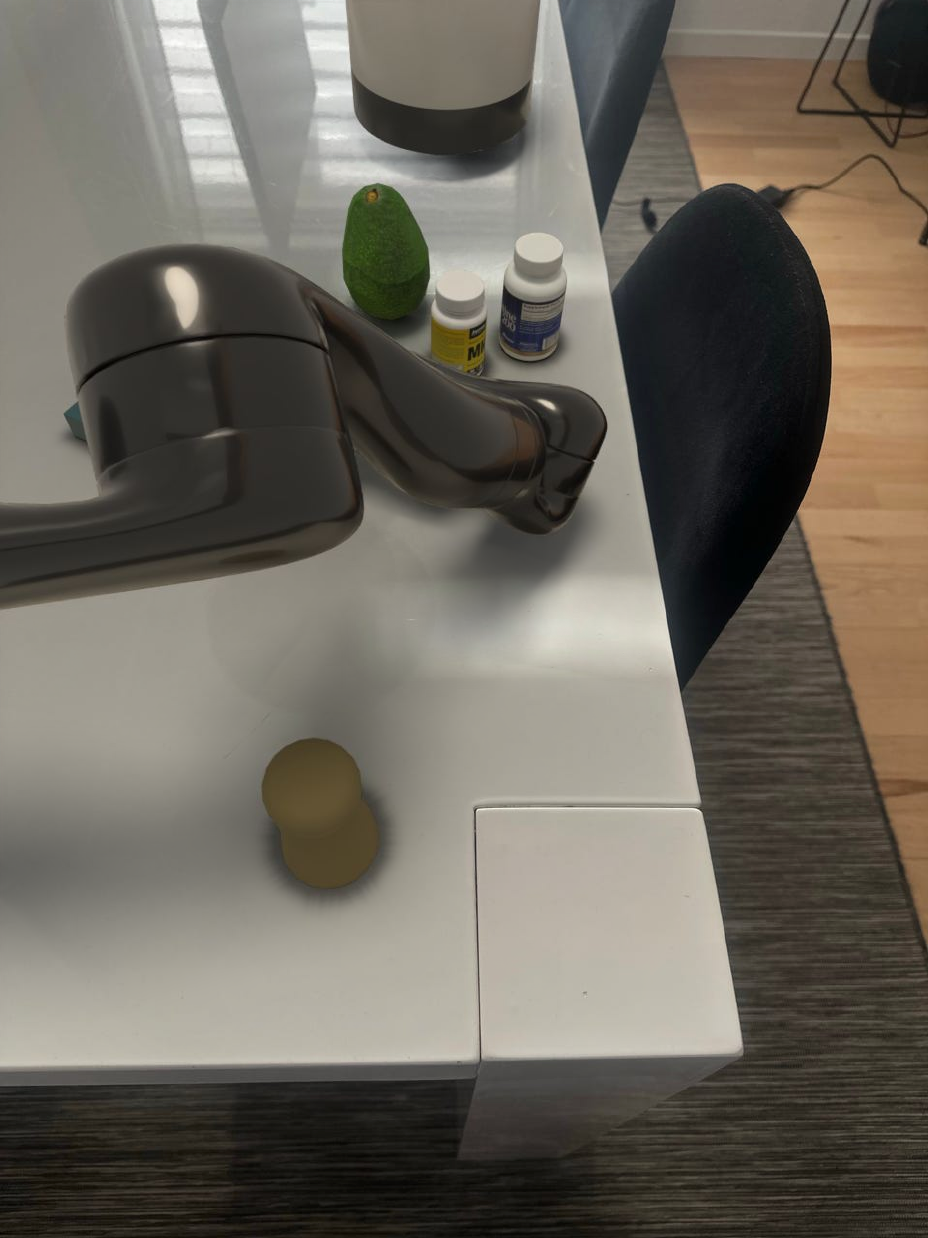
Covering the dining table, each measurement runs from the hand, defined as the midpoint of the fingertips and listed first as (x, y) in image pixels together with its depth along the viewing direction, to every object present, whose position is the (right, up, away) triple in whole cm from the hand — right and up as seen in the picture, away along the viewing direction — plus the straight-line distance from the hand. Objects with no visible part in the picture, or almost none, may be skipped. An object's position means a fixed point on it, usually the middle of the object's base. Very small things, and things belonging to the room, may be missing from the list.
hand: (162, 297), depth 66 cm
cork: (+16, -39, -14) cm, 45 cm away
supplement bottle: (+23, -3, +8) cm, 25 cm away
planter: (+22, +29, +28) cm, 46 cm away
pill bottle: (+30, 0, +10) cm, 31 cm away
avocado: (+17, +3, +12) cm, 21 cm away
